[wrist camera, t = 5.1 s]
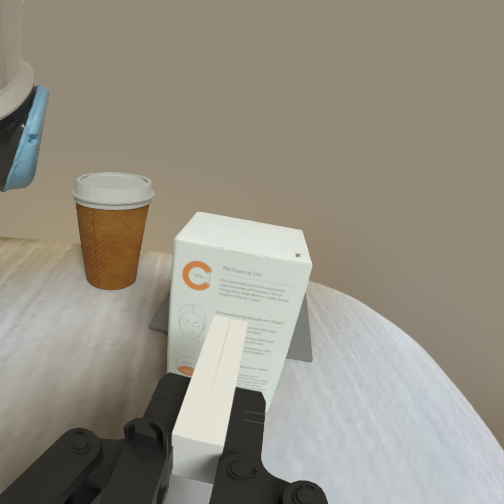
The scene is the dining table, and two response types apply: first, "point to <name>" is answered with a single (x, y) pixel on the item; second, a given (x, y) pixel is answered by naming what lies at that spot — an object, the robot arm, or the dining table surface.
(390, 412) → the dining table surface
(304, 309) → the rubber mat
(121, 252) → the disposable coffee cup
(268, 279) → the small box
